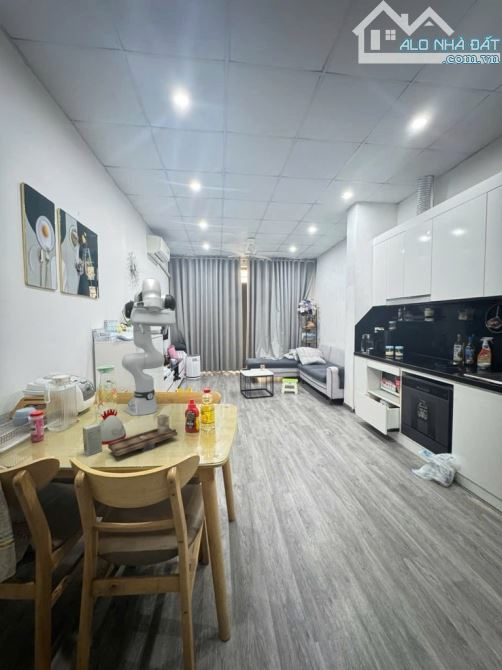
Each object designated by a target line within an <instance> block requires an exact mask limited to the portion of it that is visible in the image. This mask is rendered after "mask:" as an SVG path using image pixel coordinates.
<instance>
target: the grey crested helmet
mask: <svg viewBox="0 0 502 670" xmlns="http://www.w3.org/2000/svg"><path fill="white" fill-rule="evenodd" d="M117 415H118V411H117V410H115V409H112V408H109V409H107V411H105V410H104V411H103V414H100V416H101V417H102V420H100V422H99V423H98V424H100V425H101V439H102V446H105V445H107V446H108V444H109V443H111V442H114V441H117V440H121V439H124V438H127V437H126V436H127V432H126V427H125V425H124V423H123V421H122V420H121V418H119V417H117Z"/></svg>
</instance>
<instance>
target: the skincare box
mask: <svg viewBox="0 0 502 670" xmlns="http://www.w3.org/2000/svg"><path fill="white" fill-rule="evenodd" d="M82 437H83V438H82V440H83V441H82V443H83V453H84V455H86V457H89V456H92V455H95V454H97V453H100V452H102V451H103V445H102V439H101V425H100V424H99V423H98V422H95V423H93V424H89V425H86V426H82Z"/></svg>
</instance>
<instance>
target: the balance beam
mask: <svg viewBox="0 0 502 670" xmlns="http://www.w3.org/2000/svg"><path fill="white" fill-rule="evenodd" d="M177 436H178V432H177V429H175V428H174V429H172V428H170V427H169V431H168V432H164V433H161V434H160V433H159V432H158V427H157V428H154V429H151V430H148V431H144V432H141V433H137V434H135V435H130V436H127V437H125V438H124V439H121V440H117V441H114V442H111V443H109V444H107V448H108V449H109V450H110V451H111V452H112V453H113V454H114V455H115V456H116V457H119V456H122V455H124V454H127V453H131V452H132V451H136V450H141V452H143V453H144V452H147V451H150V450H153V449H155V448H156V447H155V445H156V443H159V442H163V441H165V440H169V439H171V438H174V437H177Z"/></svg>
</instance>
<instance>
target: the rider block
mask: <svg viewBox="0 0 502 670" xmlns="http://www.w3.org/2000/svg"><path fill="white" fill-rule="evenodd" d="M156 417H157V428H158V432H159V433H160V434H161V433H164V432H168V431H169V428H170V420H169V419H170V415H167V414H166V413H164V414H160V415H157V416H156Z"/></svg>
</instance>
